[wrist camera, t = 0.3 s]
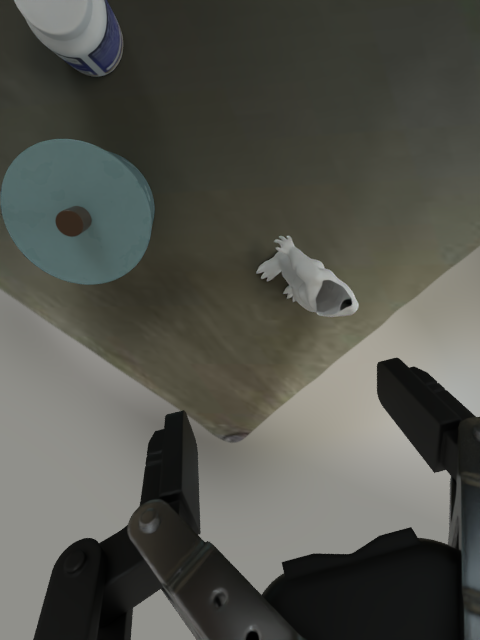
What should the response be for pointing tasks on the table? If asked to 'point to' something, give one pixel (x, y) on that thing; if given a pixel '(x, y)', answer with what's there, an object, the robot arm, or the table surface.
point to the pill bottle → (77, 32)
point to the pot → (77, 210)
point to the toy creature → (309, 281)
